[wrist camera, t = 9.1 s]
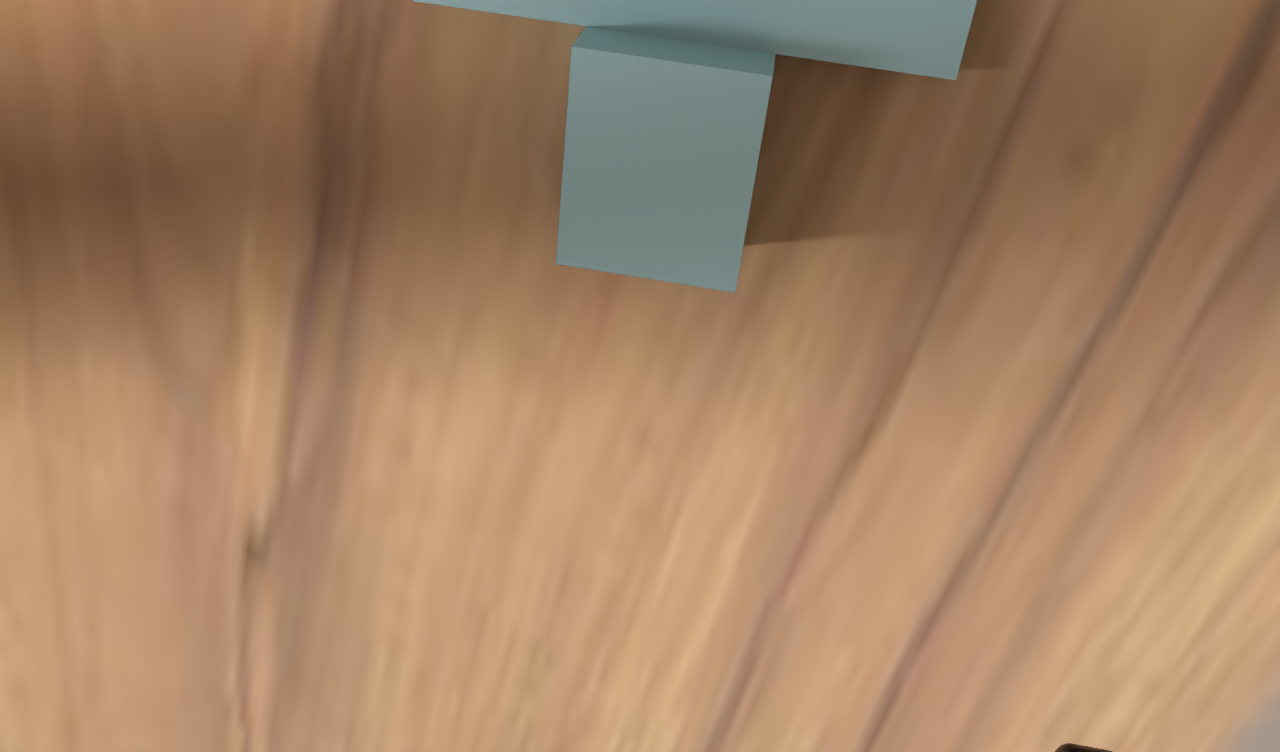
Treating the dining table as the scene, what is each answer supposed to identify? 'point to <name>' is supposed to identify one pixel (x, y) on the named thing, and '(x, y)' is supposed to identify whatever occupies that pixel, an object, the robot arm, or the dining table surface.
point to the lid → (700, 113)
